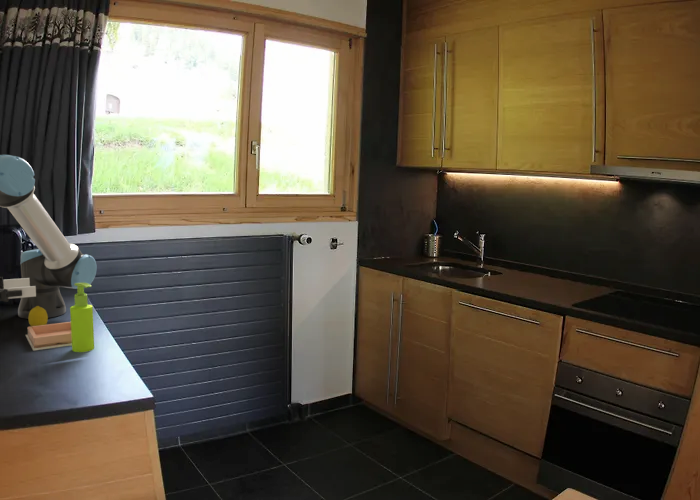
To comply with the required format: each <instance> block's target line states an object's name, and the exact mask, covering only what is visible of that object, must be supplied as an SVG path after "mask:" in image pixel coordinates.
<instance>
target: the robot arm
mask: <svg viewBox="0 0 700 500" xmlns="http://www.w3.org/2000/svg"><path fill="white" fill-rule="evenodd" d="M34 176H35V171H34V170H33V168H32V166H31V165H30V164H29V162H27V160H25V159H24V158H22V157H20V156H16V155H11V154H0V207H1V208H5V209H7V210H8V211H9V212H10V213H11V214H12V216H13V218H14V219H15V220H16V222H17V223H18V224H19V225H20V227H21V228H22V230H23V231H24V232H25V233H26V235H27V236H28V237H29V239H31V241H32V242H33V243H34V245H35V246H36V248H38V249H31V250H26V251H23V252H22V253H21V254H20V263H19V264H20V277H21V278H10V279H3V276H0V302H4V303H7V302H9V300H10V299H20V302H19V305H18V307H17V316H18V317H19V318H21V319H28V317H29V313H30V311H31V310H32V309H33V308H35V307H36V306H39V307H42V308H43V309H45V310H46V312H47V316H48V319H49V318H56V317H59V316H62V315H65V314H66V312H67V306H66V304H65V301H64V298H63V296H62V294H61V291H60V288H66V289H74V290H77V286H75V285H74V284H75V283H80V282H81V283H88V284H90V285H91V284H92V283H93V282H94V280H95V277H96V274H97V267H98V266H97V262H96V259H95V258H94V257H93V255H89V254H87V253H85V254H83V253H82V251H81V249H79V247H78V246H77V245H76V244H75V243H70V242H69V241H68V240H67V238H66V237H65V236H64V234H63V232H61V230H60V229H59V227H58V226H57V224H56V223H55V221H54V220H53V219H52V218H51V216H50V214H49V213H48V211H47V210H46V209H45V207H44V205H43V204H42V203H41V201H40V200H39V199H38V198H37V196H36V194H34V192H35V191H36V190H35V189H36V187H35V182H36V179H35V178H34Z"/></svg>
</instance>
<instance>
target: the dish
mask: <svg viewBox="0 0 700 500" xmlns="http://www.w3.org/2000/svg"><path fill="white" fill-rule="evenodd" d="M27 335H28V337H29V339H30V341H31V343H32V345H33V347H34V348H41V347H48V346H55V345H62V344H70V343H72V336H71V321H65V322H56V323H47V324H46V325H39V326H31V325H30V326H27Z"/></svg>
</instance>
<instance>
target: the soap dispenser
mask: <svg viewBox="0 0 700 500" xmlns="http://www.w3.org/2000/svg"><path fill="white" fill-rule="evenodd" d="M74 285H75V286H77V289H76V290H77V293H75V294H74V296H73V297H74V305H71V306H70V307H69V312H70V315H69V316H70V322H71V336H72V345H71V351H72V352H75V353H87V352H92V351H93V350H95V336H94V335H95V334H94V331H95V330H94V329H95V328H94V312H93V309H94V308H93V306H94V305H92V304H88V302H89V301H88V293H85V289H88V288H92V287H93V285H91V284H88V283H81V282H80V283H75V284H74Z"/></svg>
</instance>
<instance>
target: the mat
mask: <svg viewBox="0 0 700 500" xmlns="http://www.w3.org/2000/svg"><path fill="white" fill-rule="evenodd" d="M25 337H26V339H27V341H28V344H29V345H30V347H31V349H32V351H39V350H47V349H48V350H49V349H56V348H61V347H62V348H63V347H68V346H72V343H70V344H62V345H55V346H48V347H41V348H34V347H33V345H32V343H31V341H30V339H29V337H28V334H25Z"/></svg>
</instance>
